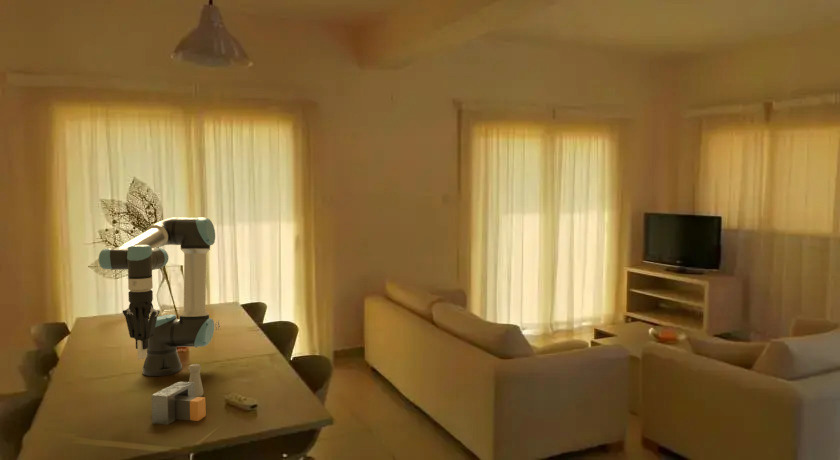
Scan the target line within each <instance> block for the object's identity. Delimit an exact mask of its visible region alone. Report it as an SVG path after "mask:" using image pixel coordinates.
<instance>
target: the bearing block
mask: <svg viewBox="0 0 840 460" xmlns="http://www.w3.org/2000/svg"><path fill="white" fill-rule="evenodd" d="M150 395H151V424H157V425H166V426H167V425H168V426H169V425H170V424H172V423H173V422H175V421H176V419H175V395H181V396H194V397H195V393H194V383H193V382H189V381H177V382H175V383H172V384H171V385H170V386H167V387H164V388H162V389H161V390H158V391H157V392H155V393H153V394H150Z"/></svg>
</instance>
